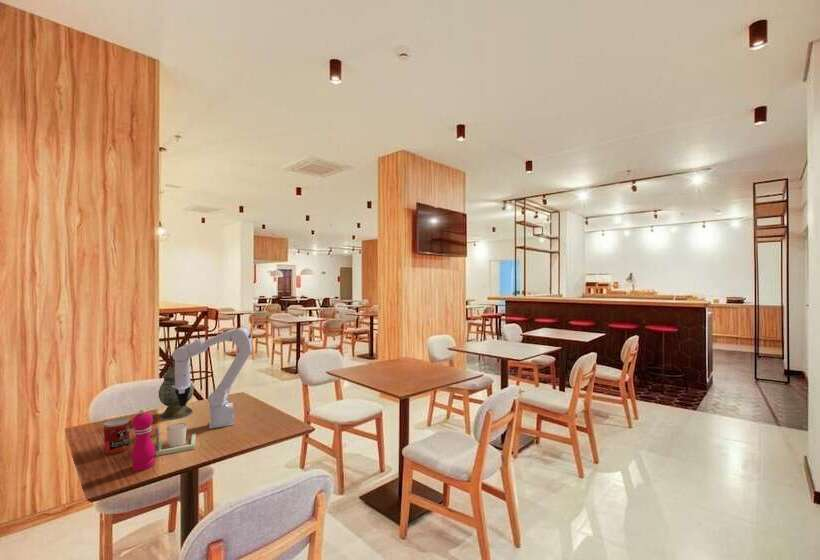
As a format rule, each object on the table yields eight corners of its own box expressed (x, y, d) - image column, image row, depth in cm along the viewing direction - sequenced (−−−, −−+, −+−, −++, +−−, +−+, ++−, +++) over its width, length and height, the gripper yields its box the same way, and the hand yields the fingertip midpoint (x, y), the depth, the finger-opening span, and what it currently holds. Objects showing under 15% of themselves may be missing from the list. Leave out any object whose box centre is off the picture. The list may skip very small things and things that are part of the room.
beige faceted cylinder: (179, 448, 150) (178, 429, 150) (162, 447, 151) (162, 429, 151) (191, 440, 157) (190, 423, 157) (175, 439, 158) (175, 422, 158)
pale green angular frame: (195, 437, 160) (195, 413, 159) (194, 448, 149) (193, 422, 149) (152, 444, 153) (152, 419, 153) (148, 457, 142) (147, 430, 142)
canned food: (110, 456, 143) (109, 426, 143) (100, 451, 148) (100, 422, 147) (133, 448, 150) (133, 420, 150) (124, 443, 154) (123, 416, 154)
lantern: (152, 419, 180) (151, 365, 179) (171, 408, 194) (170, 358, 194) (182, 419, 179) (181, 365, 179) (199, 408, 194) (198, 358, 193)
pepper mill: (138, 462, 139) (137, 406, 139) (160, 461, 140) (159, 405, 139) (125, 472, 132) (124, 413, 132) (148, 471, 132) (147, 412, 132)
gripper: (173, 371, 175) (174, 402, 175) (170, 379, 162) (170, 412, 162) (191, 370, 178) (192, 399, 178) (189, 377, 165) (190, 409, 165)
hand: (183, 405), depth 170 cm, fingers closed
